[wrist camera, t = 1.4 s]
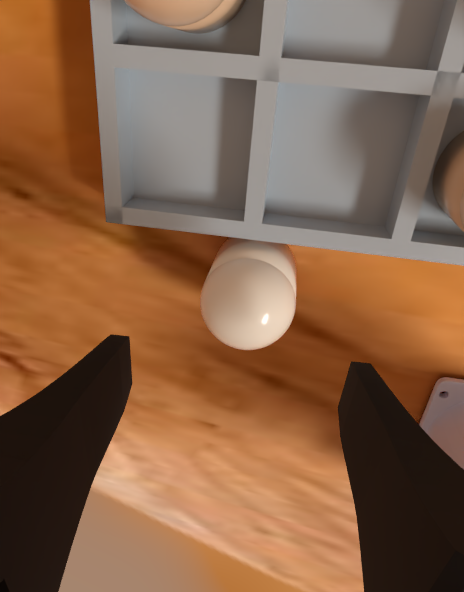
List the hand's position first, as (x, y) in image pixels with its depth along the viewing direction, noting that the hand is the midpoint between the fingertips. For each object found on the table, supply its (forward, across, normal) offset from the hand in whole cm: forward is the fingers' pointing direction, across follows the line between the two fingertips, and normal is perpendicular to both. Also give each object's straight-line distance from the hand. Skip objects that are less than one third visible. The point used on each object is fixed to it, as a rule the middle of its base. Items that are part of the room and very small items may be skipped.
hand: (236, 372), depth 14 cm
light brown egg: (+10, 0, +1) cm, 10 cm away
